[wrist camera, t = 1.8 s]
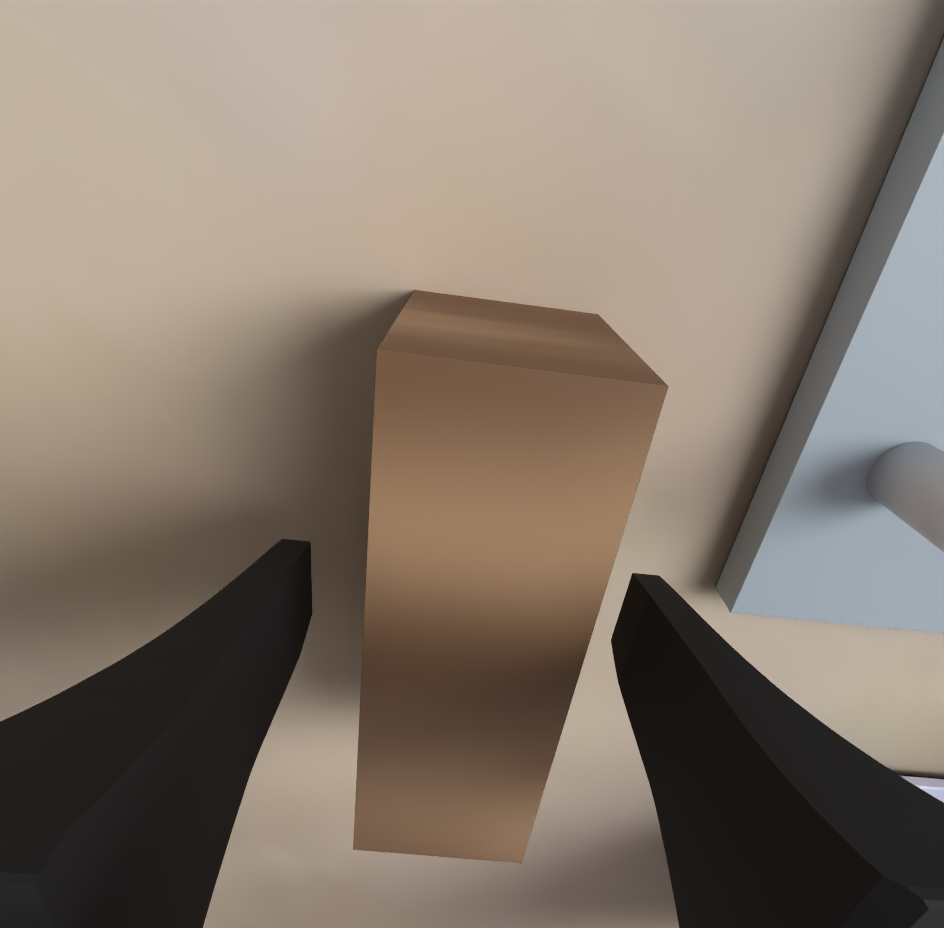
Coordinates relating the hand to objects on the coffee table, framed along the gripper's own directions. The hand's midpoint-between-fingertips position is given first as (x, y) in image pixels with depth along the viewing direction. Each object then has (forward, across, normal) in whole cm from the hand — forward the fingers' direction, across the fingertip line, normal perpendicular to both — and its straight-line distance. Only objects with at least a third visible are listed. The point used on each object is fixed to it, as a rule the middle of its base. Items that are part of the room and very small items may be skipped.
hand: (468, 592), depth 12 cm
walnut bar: (+3, 0, 0) cm, 3 cm away
